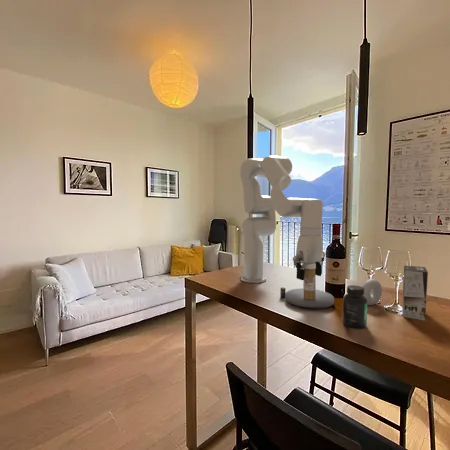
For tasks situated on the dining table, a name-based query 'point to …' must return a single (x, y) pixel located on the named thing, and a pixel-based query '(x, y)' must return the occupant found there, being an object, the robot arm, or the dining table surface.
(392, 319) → the dining table surface
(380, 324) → the dining table surface
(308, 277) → the sprinkles bottle
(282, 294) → the stop dowel
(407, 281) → the coffee box
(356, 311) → the supplement bottle
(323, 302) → the turntable
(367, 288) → the donut
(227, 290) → the dining table surface
